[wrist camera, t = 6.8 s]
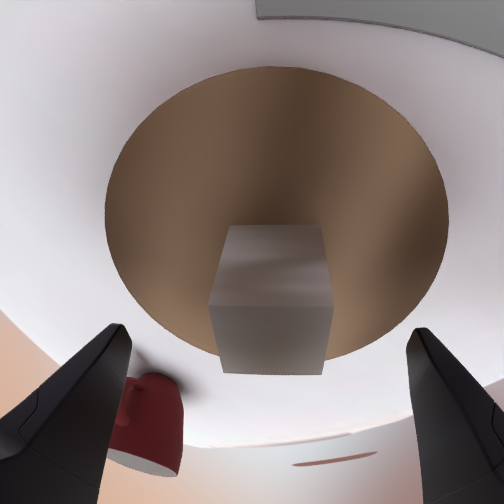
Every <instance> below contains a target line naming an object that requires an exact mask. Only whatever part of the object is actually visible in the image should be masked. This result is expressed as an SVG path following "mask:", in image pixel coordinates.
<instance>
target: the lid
mask: <svg viewBox="0 0 504 504" xmlns="http://www.w3.org/2000/svg"><path fill="white" fill-rule="evenodd" d="M448 227H449V214H448V201H447V196H446V191H445V187H444V182H443V179H442V176H441V174H440V171H439V169H438V166H437V164H436V161H435V159H434V157H433V156H432V154H431V152H430V151H429V149H428V147H427V146H426V144H425V142H424V141H423V139H422V138H421V136H420V135H419V134H418V133H417V132H416V130H415V129H414V128H413V127H412V126H411V125H410V123H409V122H408V121H407V120H406V119H405V118H404V117H403V116H402V115H401V114H399V113H398V112H397V111H396V110H395V109H393V108H392V107H391V106H390V105H389V104H387V103H386V102H385V101H384V100H382V99H380V98H379V97H377V96H376V95H374V94H372V93H370V92H369V91H367V90H365V89H364V88H362V87H360V86H358V85H356V84H353V83H351V82H348V81H346V80H343V79H341V78H338V77H335V76H333V75H330V74H326V73H322V72H317V71H313V70H308V69H303V68H295V67H275V66H267V67H258V68H249V69H241V70H236V71H233V72H229V73H225V74H222V75H218V76H215V77H212V78H208V79H206V80H204V81H201V82H199V83H197V84H195V85H193V86H191V87H189V88H187V89H184V90H182V91H181V92H179V93H178V94H176V95H175V96H173V97H172V98H170V99H169V100H167V101H166V102H164V103H163V104H162V105H160V106H159V107H158V108H157V109H156V110H154V111H153V112H152V113H151V114H150V115H149V116H148V117H147V118H146V119H145V120H144V121H143V122H142V123H141V124H140V125H139V126H138V128H137V129H136V130H135V132H134V133H133V134H132V136H131V137H130V138H129V140H128V141H127V142H126V144H125V146H124V147H123V149H122V151H121V153H120V155H119V157H118V159H117V161H116V163H115V165H114V168H113V171H112V174H111V177H110V180H109V183H108V188H107V194H106V201H105V229H106V236H107V243H108V246H109V250H110V253H111V256H112V260H113V262H114V264H115V267H116V269H117V271H118V273H119V276H120V278H121V279H122V281H123V283H124V284H125V286H126V288H127V289H128V291H129V292H130V294H131V295H132V296H133V297H134V299H135V300H136V301H137V303H138V304H139V305H140V306H141V307H142V308H143V309H144V310H145V311H146V312H147V313H148V314H149V315H150V316H151V317H152V318H153V319H154V320H155V321H156V322H158V323H159V324H160V325H161V326H162V327H164V328H165V329H166V330H168V331H169V332H171V333H172V334H174V335H175V336H177V337H178V338H180V339H182V340H183V341H185V342H187V343H189V344H191V345H193V346H194V347H197V348H199V349H201V350H204V351H206V352H208V353H211V354H214V355H217V356H219V357H220V361H221V365H222V369H223V373H235V374H258V375H322V370H323V365H324V361H326V360H330V359H333V358H336V357H340V356H343V355H346V354H348V353H351V352H353V351H356V350H358V349H361V348H363V347H365V346H366V345H368V344H370V343H372V342H374V341H376V340H377V339H379V338H380V337H382V336H384V335H385V334H387V333H388V332H390V331H391V330H392V329H393V328H395V327H396V326H397V325H398V324H399V323H401V322H402V321H403V320H404V319H405V318H406V317H407V316H408V315H409V314H410V313H411V312H412V311H413V310H414V309H415V308H416V306H417V305H418V304H419V302H420V301H421V300H422V298H423V297H424V296H425V294H426V293H427V291H428V290H429V288H430V286H431V284H432V283H433V281H434V279H435V277H436V275H437V272H438V270H439V268H440V265H441V263H442V260H443V256H444V252H445V248H446V244H447V237H448Z"/></svg>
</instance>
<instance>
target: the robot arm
mask: <svg viewBox="0 0 504 504" xmlns="http://www.w3.org/2000/svg"><path fill="white" fill-rule="evenodd" d="M131 350H132V340H131V338H130V336H129V334H128V332H127V330H126V328H125V326H124V325H123V324H117V323H112V324H110V325H109V326H107V327H106V328H105V329H104V330H103V331H102V332H100V333H99V334H98V335H97V336H96V337H95V338H93V339H92V340H91V341H90V342H89V343H88V344H87V345H85V346H84V347H83V348H82V349H81V350H80V351H78V352H77V353H76V354H75V355H74V356H73V357H72V358H70V359H69V360H68V361H67V362H66V363H65V364H64V365H63V366H61V367H60V368H59V369H58V370H57V371H56V372H55V373H54V374H52V375H51V376H50V377H49V378H48V379H47V380H46V381H45V382H44V383H42V384H41V385H40V386H39V388H37V389H36V390H35V391H34V392H32V393H31V394H30V395H29V396H28V397H27V398H26V399H25V400H23V401H22V402H21V403H20V404H19V405H17V406H16V407H15V408H14V409H12V410H11V411H10V412H8V413H7V414H6V415H5V416H3V417H2V418H1V419H0V504H97V500H98V495H99V488H100V484H101V479H102V474H103V469H104V465H105V461H106V457H107V452H108V448H109V444H110V440H111V436H112V432H113V428H114V424H115V420H116V416H117V413H118V409H119V405H120V402H121V398H122V395H123V391H124V387H125V382H126V377H127V371H128V366H129V360H130V355H131ZM406 355H407V365H408V376H409V388H410V397H411V403H412V409H413V415H414V421H415V427H416V434H417V441H418V449H419V457H420V466H421V476H422V489H423V504H504V412H503V411H502V409H501V408H500V407H499V406H498V405H497V403H494V400H493V399H492V398H491V397H490V395H489V394H488V393H487V392H486V391H485V390H484V388H483V387H482V386H481V385H480V384H479V383H478V382H477V381H476V379H475V378H474V377H473V376H472V375H471V374H470V373H469V372H468V370H467V369H466V368H465V367H464V366H463V365H462V364H461V363H460V362H459V361H458V360H457V358H456V357H455V356H454V355H453V354H452V353H451V352H450V351H449V350H448V349H447V348H446V347H445V346H444V345H443V344H442V342H441V341H440V340H439V339H438V338H437V337H436V336H435V335H434V334H433V333H432V332H431V331H430V330H429V329H428V328H425V327H423V328H415V329H414V330H413V332H412V335H411V337H410V339H409V341H408V343H407V347H406Z"/></svg>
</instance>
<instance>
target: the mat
mask: <svg viewBox="0 0 504 504" xmlns="http://www.w3.org/2000/svg"><path fill="white" fill-rule="evenodd" d="M256 13H257V18H258V19H325V20H340V21H351V22H361V23H369V24H376V25H383V26H389V27H395V28H401V29H406V30H411V31H416V32H420V33H425V34H429V35H433V36H437V37H441V38H445V39H448V40H452V41H455V42H459V43H462V44H465V45H468V46H471V47H474V48H477V49H480V50H483V51H486V52H489V53H491V54H494V55H497V56H499V57H502V58H504V0H256Z"/></svg>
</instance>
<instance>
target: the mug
mask: <svg viewBox="0 0 504 504" xmlns="http://www.w3.org/2000/svg"><path fill="white" fill-rule="evenodd" d="M183 419H184V410H183V404H182V400H181V397H180V393H179V390H178V387H177V385H176V383H175V382H174V381H173V380H171V379H170V378H168V377H166V376H164V375H161V374H157V373H146V374H144V375H142V376H141V377H140V378H139V379H135V378H132V377H126V382H125V387H124V391H123V395H122V398H121V402H120V405H119V409H118V413H117V416H116V420H115V424H114V428H113V432H112V436H111V440H110V444H109V448H108V452H107V458H109V459H111V460H113V461H115V462H117V463H119V464H121V465H124V466H126V467H129V468H132V469H135V470H137V471H140V472H144V473H148V474H152V475H157V476H163V477H175V476H177V474H178V471H179V467H180V463H181V458H182V451H183Z"/></svg>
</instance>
